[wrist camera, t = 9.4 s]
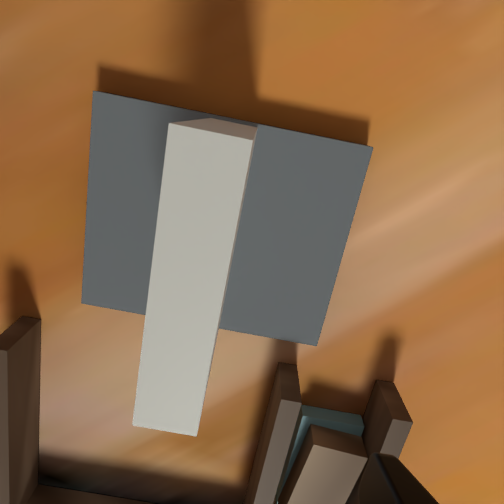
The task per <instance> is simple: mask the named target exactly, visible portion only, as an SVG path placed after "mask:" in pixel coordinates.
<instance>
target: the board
mask: <svg viewBox="0 0 504 504" xmlns="http://www.w3.org/2000/svg"><path fill="white" fill-rule="evenodd" d="M256 133H257V127H252V126H248V125H243V124H238V123H233V122H228V121H223V120H219V119H214V118H206V119H198V120H190V121H181V122H173V123H169V125H168V134H167V142H166V150H165V158H164V167H163V175H162V183H161V192H160V200H159V208H158V216H157V225H156V233H155V241H154V250H153V258H152V266H151V274H150V283H149V291H148V299H147V308H146V316H145V324H144V333H143V341H142V349H141V357H140V366H139V374H138V382H137V391H136V399H135V407H134V415H133V424H132V425H133V426H139V427H145V428H151V429H156V430H162V431H168V432H173V433H179V434H185V435H191V436H196V437H197V432H198V427H199V422H200V418H201V413H202V408H203V403H204V398H205V393H206V388H207V383H208V379H209V374H210V369H211V364H212V359H213V354H214V349H215V344H216V339H217V335H218V330H219V325H220V320H221V315H222V310H223V305H224V300H225V294H226V289H227V284H228V279H229V274H230V268H231V263H232V258H233V253H234V247H235V242H236V237H237V232H238V227H239V221H240V216H241V211H242V206H243V201H244V195H245V190H246V185H247V180H248V175H249V169H250V164H251V159H252V154H253V149H254V143H255V138H256Z"/></svg>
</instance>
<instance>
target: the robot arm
mask: <svg viewBox="0 0 504 504" xmlns="http://www.w3.org/2000/svg"><path fill="white" fill-rule="evenodd" d="M359 504H439V503H438V502H437V501H436V500H435V499H434V498H433V496H432V495H431V494H430V493H429V492H428V491H427V490H426V489H425V488H424V487H423V486H422V484H421V483H420V482H419V481H418V480H417V479H416V478H415V477H414V476H413V475H412V474H411V472H410V471H409V470H408V469H407V468H406V467H405V466H404V465H403V464H402V463H401V462H400V460H399V459H398V458H396V457H395V456H393V455H390V454H384V453H378V452H375V453H373V454H372V455H371V456H370V458H369V460H368V463H367V466H366V468H365V471H364V474H363V476H362V479H361V482H360V486H359Z"/></svg>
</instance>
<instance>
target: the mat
mask: <svg viewBox="0 0 504 504" xmlns="http://www.w3.org/2000/svg"><path fill="white" fill-rule="evenodd" d="M206 118H214V119H219V120H223V121H228V122H233V123H238V124H243V125H248V126H252V127H257V133H256V138H255V143H254V149H253V154H252V159H251V164H250V169H249V175H248V180H247V185H246V190H245V195H244V201H243V206H242V211H241V216H240V221H239V227H238V232H237V237H236V242H235V247H234V253H233V258H232V263H231V268H230V274H229V279H228V284H227V289H226V294H225V300H224V305H223V310H222V315H221V320H220V325H219V328H220V329H225V330H231V331H236V332H242V333H247V334H253V335H258V336H264V337H269V338H274V339H280V340H285V341H291V342H296V343H302V344H307V345H313V346H317V344H318V340H319V337H320V333H321V330H322V326H323V323H324V319H325V316H326V312H327V308H328V305H329V301H330V298H331V294H332V291H333V287H334V284H335V280H336V277H337V273H338V270H339V266H340V263H341V259H342V256H343V252H344V249H345V245H346V242H347V238H348V235H349V231H350V228H351V224H352V221H353V217H354V214H355V210H356V207H357V203H358V200H359V196H360V193H361V189H362V186H363V182H364V179H365V175H366V172H367V168H368V165H369V161H370V158H371V154H372V151H373V147H370V146H367V145H362V144H357V143H352V142H348V141H343V140H338V139H333V138H328V137H323V136H318V135H313V134H308V133H303V132H298V131H293V130H288V129H283V128H278V127H273V126H268V125H264V124H259V123H254V122H249V121H244V120H239V119H234V118H229V117H224V116H219V115H214V114H209V113H204V112H199V111H194V110H189V109H184V108H180V107H175V106H170V105H165V104H160V103H155V102H150V101H145V100H140V99H135V98H130V97H125V96H120V95H115V94H110V93H105V92H99V91H93V101H92V119H91V137H90V155H89V174H88V192H87V210H86V228H85V247H84V265H83V283H82V301H81V303H82V304H88V305H93V306H99V307H104V308H110V309H115V310H121V311H126V312H132V313H137V314H143V315H146V308H147V299H148V291H149V283H150V274H151V266H152V258H153V250H154V241H155V233H156V225H157V216H158V208H159V200H160V192H161V183H162V175H163V167H164V158H165V150H166V142H167V134H168V125H169V123H173V122H181V121H190V120H198V119H206Z"/></svg>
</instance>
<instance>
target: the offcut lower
mask: <svg viewBox="0 0 504 504" xmlns="http://www.w3.org/2000/svg"><path fill="white" fill-rule="evenodd" d="M310 424H314V425H318V426H322V427H326V428H330V429H333V430H337V431H341V432H345V433H349V434H353V435H357V436H361V435H362V432H363V430H364V424H363V420H362V417H361V415H357V414H352V413H346V412H340V411H335V410H329V409H324V408H318V407H312V406H307V405H301V407H300V411H299V414H298V418H297V421H296V425H295V428H294V432H293V435H292V439H291V442H290V446H289V449H288V453H287V456H286V460H285V463H284V467H283V470H282V474H281V477H280V481H279V484H278V488H277V491H276V504H278V498H279V496H280V494H281V491H282V489H283V487H284V484H285V482H286V480H287V477H288V475H289V473H290V470H291V468H292V466H293V463H294V461H295V459H296V456H297V454H298V452H299V449H300V447H301V445H302V442H303V440H304V438H305V435H306V433H307V431H308V428H309V426H310Z"/></svg>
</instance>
